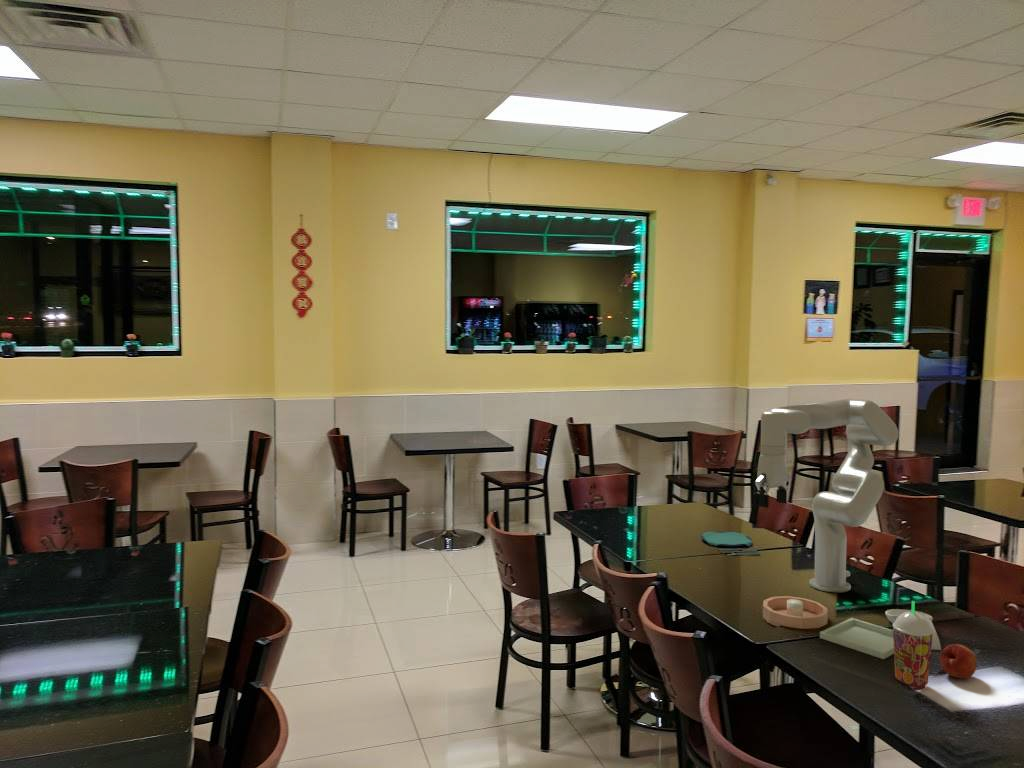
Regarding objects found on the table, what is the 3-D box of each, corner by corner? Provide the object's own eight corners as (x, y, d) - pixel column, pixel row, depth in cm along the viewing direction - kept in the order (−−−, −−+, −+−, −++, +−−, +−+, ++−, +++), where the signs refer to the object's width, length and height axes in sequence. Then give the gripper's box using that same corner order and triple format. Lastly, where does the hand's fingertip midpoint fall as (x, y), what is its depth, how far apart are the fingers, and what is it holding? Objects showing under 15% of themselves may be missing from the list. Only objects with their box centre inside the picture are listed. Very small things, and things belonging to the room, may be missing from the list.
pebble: (792, 612, 212) (792, 598, 211) (805, 617, 208) (806, 602, 208) (783, 616, 209) (783, 601, 209) (797, 620, 206) (797, 605, 205)
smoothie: (883, 677, 172) (885, 595, 171) (916, 675, 173) (918, 594, 172) (905, 693, 164) (907, 608, 163) (940, 692, 165) (942, 607, 164)
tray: (851, 626, 204) (851, 617, 204) (914, 645, 190) (914, 636, 190) (819, 641, 194) (819, 632, 193) (883, 663, 180) (883, 653, 180)
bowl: (784, 605, 221) (784, 592, 221) (838, 622, 207) (839, 608, 207) (751, 618, 210) (751, 604, 210) (806, 637, 196) (806, 622, 196)
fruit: (931, 670, 176) (931, 638, 176) (962, 668, 177) (962, 637, 176) (952, 685, 168) (953, 651, 168) (985, 683, 169) (986, 650, 168)
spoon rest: (879, 618, 210) (879, 594, 210) (922, 621, 208) (923, 597, 207) (908, 652, 187) (909, 625, 186) (957, 656, 185) (958, 628, 184)
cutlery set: (744, 536, 303) (744, 530, 302) (766, 557, 273) (766, 551, 272) (696, 536, 303) (696, 530, 303) (713, 557, 274) (713, 552, 273)
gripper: (778, 446, 232) (777, 499, 232) (746, 451, 221) (745, 506, 222) (799, 449, 226) (798, 503, 226) (768, 454, 215) (767, 510, 216)
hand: (772, 504), depth 224 cm, fingers open, 9 cm apart
